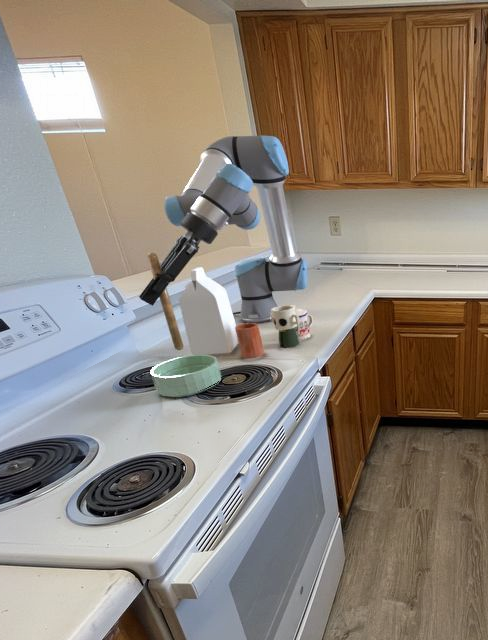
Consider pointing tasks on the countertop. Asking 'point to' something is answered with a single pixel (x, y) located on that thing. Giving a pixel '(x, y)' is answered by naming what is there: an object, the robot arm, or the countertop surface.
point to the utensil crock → (249, 340)
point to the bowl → (186, 375)
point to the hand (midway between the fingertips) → (145, 301)
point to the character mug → (285, 325)
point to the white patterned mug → (302, 323)
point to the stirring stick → (166, 304)
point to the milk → (207, 316)
